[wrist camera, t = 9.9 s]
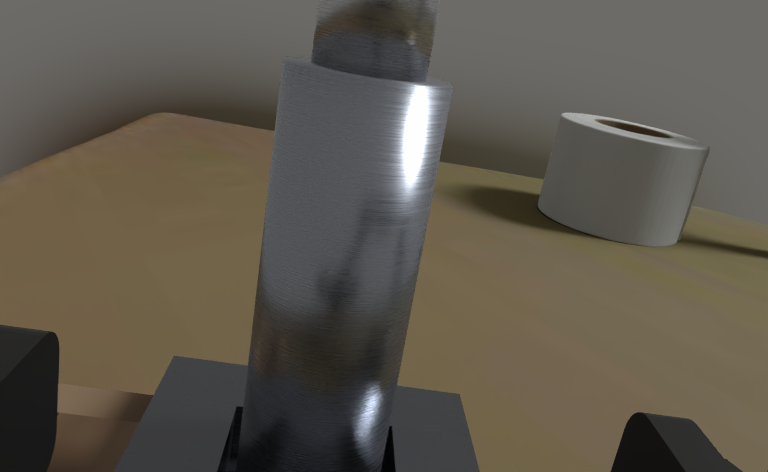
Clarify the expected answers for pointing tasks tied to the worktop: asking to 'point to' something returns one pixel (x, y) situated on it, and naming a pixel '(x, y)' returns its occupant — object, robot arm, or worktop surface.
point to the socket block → (224, 417)
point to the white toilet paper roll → (621, 179)
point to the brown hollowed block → (94, 427)
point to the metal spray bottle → (342, 237)
